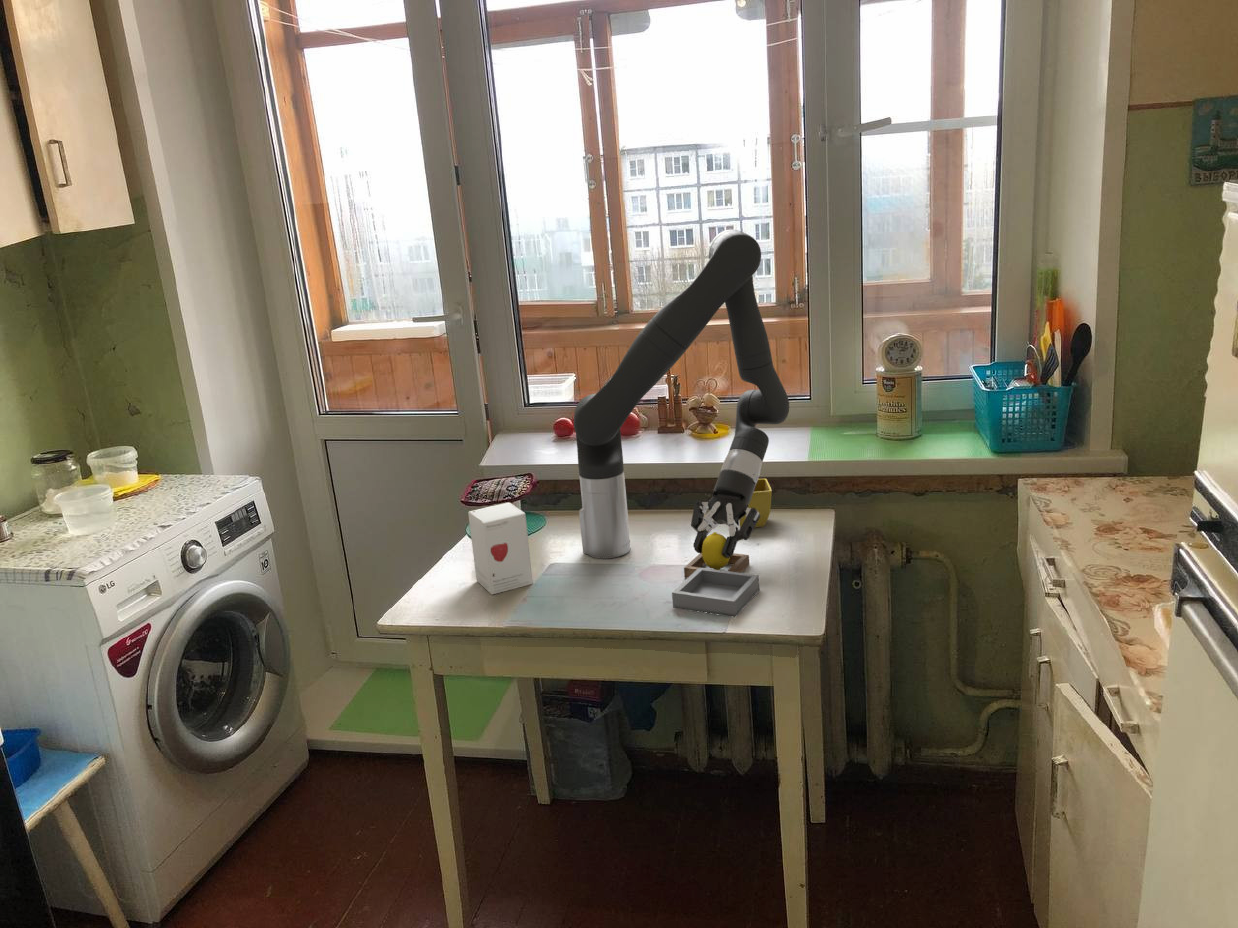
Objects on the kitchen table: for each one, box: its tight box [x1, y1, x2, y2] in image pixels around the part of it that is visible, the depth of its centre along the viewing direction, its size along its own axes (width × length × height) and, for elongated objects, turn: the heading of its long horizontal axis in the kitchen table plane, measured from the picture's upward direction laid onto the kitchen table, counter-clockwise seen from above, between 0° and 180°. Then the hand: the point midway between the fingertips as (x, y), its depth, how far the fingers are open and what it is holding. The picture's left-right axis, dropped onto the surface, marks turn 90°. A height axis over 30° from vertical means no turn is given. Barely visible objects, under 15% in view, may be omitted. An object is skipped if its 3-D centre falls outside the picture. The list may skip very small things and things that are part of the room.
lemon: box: [702, 531, 730, 570], centre depth 187 cm, size 6×6×8 cm
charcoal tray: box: [671, 567, 760, 618], centre depth 175 cm, size 12×12×3 cm
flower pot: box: [739, 478, 773, 528], centre depth 210 cm, size 9×9×9 cm
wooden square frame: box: [683, 552, 750, 579], centre depth 187 cm, size 10×10×2 cm
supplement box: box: [467, 502, 534, 596], centre depth 189 cm, size 9×9×15 cm
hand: (711, 553), depth 185 cm, fingers closed on lemon, 5 cm apart
